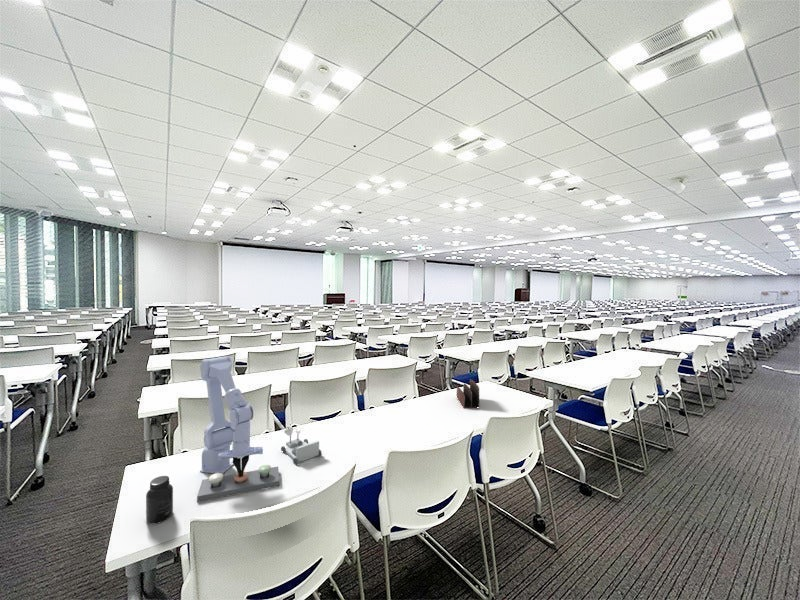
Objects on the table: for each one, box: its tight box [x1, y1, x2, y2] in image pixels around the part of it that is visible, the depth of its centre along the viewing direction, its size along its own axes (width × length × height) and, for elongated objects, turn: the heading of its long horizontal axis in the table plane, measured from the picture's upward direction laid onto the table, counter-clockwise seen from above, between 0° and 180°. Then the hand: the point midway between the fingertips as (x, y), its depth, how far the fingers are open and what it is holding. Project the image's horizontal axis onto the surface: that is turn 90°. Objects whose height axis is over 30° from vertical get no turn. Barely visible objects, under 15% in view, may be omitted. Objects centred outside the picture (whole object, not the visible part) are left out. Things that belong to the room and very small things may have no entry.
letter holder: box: [456, 378, 480, 409], centre depth 213 cm, size 10×20×14 cm, turn 4°
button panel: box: [196, 466, 280, 502], centre depth 120 cm, size 26×10×2 cm, turn 113°
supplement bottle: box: [145, 475, 174, 524], centre depth 103 cm, size 7×7×12 cm
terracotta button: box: [234, 471, 248, 483], centre depth 120 cm, size 4×4×3 cm
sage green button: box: [257, 464, 272, 478], centre depth 123 cm, size 4×4×3 cm
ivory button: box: [208, 473, 224, 487], centre depth 117 cm, size 4×4×3 cm
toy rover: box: [280, 426, 323, 466], centre depth 144 cm, size 18×10×12 cm
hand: (241, 475), depth 120 cm, fingers closed, pressing on terracotta button
